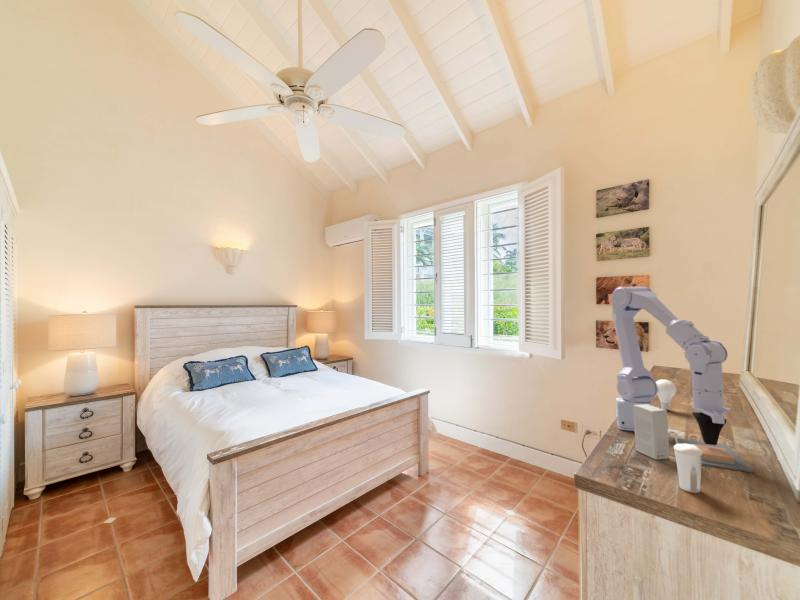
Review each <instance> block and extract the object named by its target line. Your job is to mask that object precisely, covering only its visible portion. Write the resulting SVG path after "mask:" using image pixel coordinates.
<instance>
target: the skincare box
mask: <svg viewBox="0 0 800 600" xmlns="http://www.w3.org/2000/svg"><path fill="white" fill-rule="evenodd" d="M633 406H634V427H635V431H634V446H635V451H637V452H638V453H641V454H642V455H645V456H647V457H649V458H651V459H654V460H666V459H667V460H668V459H670V446H669V444H670V443H669V442H670V441H669V425H668V410H664V409H662V408H661V407H660V408H659V407H657V406H654V405H652V406H651V405H648V404H640V405H633Z"/></svg>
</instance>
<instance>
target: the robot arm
mask: <svg viewBox="0 0 800 600" xmlns="http://www.w3.org/2000/svg"><path fill="white" fill-rule="evenodd" d="M609 298H610V302H611V306H612V310H611V311H612V312H611V316H612V321H613V326H614V330H615V334H616V335H615V336H616V340H617V345H618V349H619V354H620V359H621V360H620V361H621V364H622V369H621V370H620V371H619V372H618V373H617V375H616V378H617V380H616V381H617V382H616V390H617V393H618V395H620V397H616V398H615V407H616V408H615V411H616V413H615V414H616V415H615V421H616V425H617V428H618V429H619V430H623V431H631V432H635V427H634V406H633V405H640V404H648V405H651V406H653V401H654V400H655V399H654V398H655V397H656V396H658V395H657V393H658V386H657V384H656V381H655V379H654V377H653V373H652V372H651V371H650V370H648V369H647V368H646V367H645V365H644V361H643V357H642V352H641V348H640V343H639V338H638V333H637V329H636V326H635V324H636V323H635V320H634V317H635V316H636V315H637V314H638V313H639V312H640V311H642V310H645V312H648V314H650V315H651V316H652V317H654V318H655V319H656V320H657V321H658V322H659V323H661V324H662V325H663V326H665V327H666V329H665V330H666V331H665V332H666V334H667V335H668V337H670V338H671V339H672V340H673V341H674V342H675V343H676V344H677V345H678V346H679V347H680V348H681V350H683V351H684V352H683V353H684V357H685V359H686V360H687V362H688V363H689V369H690V370H691V383H692V384H691V385H692V386H691V387H692V402H693V403H692V409H693V410H695V411H696V412H691V413H692V415H693V417H694V419H695V420H696V422H697V425H698V428H699V430H700V434H701V436H702V440H703V441H702V442H705V444H710V445H717V443H718V441H719V438H720V434H721V431H722V429H723V427H724V426H725V425H726V423H727V419H726V418H725V414H726V413H731V411H732V409H731V408H729V407H725V403H724V399H725V398H724V382H723V381H724V380H723V366H722V365H723V363H725V362H726V360H727V359H728V350H727V348H726V347H725V346H724V345H723V343H722V342H720V341H717V340H711V339H710V338H709V337H708V336H707V335H704V334H703V333H702V332H701V331H700V330H698V329H697V328H696V327H695V324H694V322H692V321H689V320H686V319H678V317H677V316H676V315H675V314H673V312H672V311H671V310H670V309H669V308H667V307H666V305H665V304H664V303H663V302H662V301H660V299H659V298H658V297H657V293H656V292H655V291H653V290H652V289H651V288H650V287H649V286H645V285H643V286H618V287H616V288H614V290H613V291H612V293H611V294H610V297H609ZM616 418H617V419H616Z"/></svg>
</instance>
